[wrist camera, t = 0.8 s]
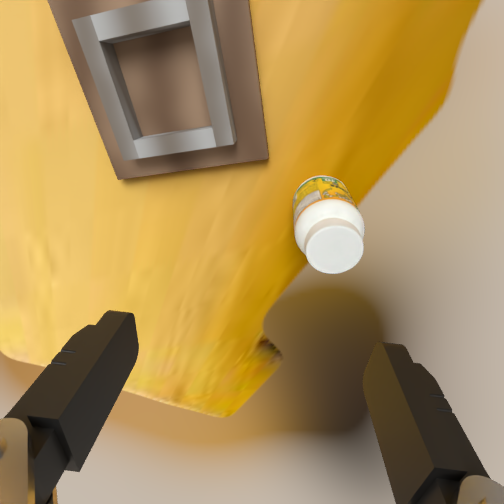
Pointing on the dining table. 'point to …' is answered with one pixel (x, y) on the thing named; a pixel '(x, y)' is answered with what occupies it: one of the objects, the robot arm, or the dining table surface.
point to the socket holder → (167, 81)
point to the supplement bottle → (328, 225)
